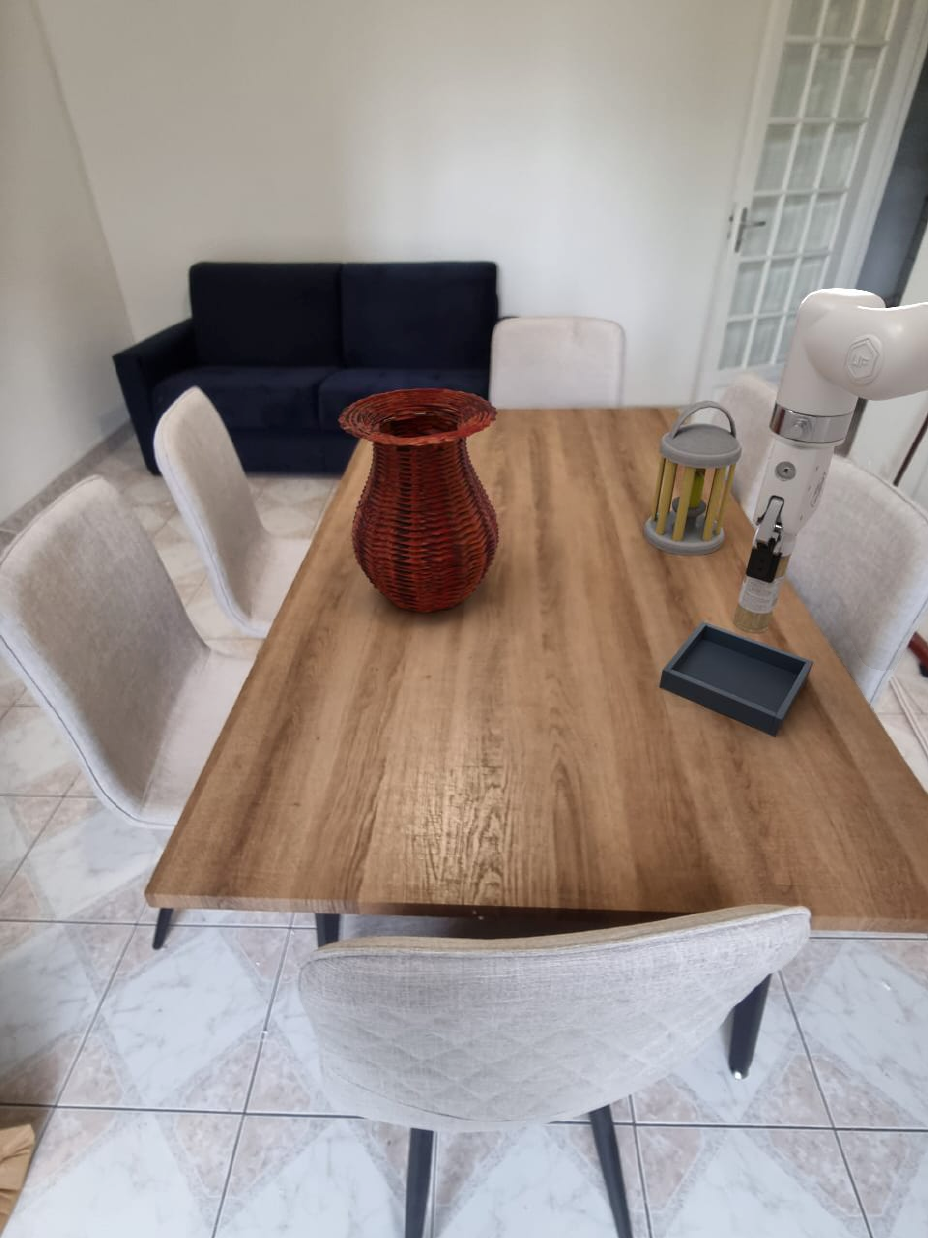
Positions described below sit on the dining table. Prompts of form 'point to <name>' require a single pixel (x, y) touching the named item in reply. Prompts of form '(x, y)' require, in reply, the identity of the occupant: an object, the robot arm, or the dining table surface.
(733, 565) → the dining table surface
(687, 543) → the lantern
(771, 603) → the sprinkles bottle
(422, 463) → the vase
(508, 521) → the dining table surface
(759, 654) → the tray
